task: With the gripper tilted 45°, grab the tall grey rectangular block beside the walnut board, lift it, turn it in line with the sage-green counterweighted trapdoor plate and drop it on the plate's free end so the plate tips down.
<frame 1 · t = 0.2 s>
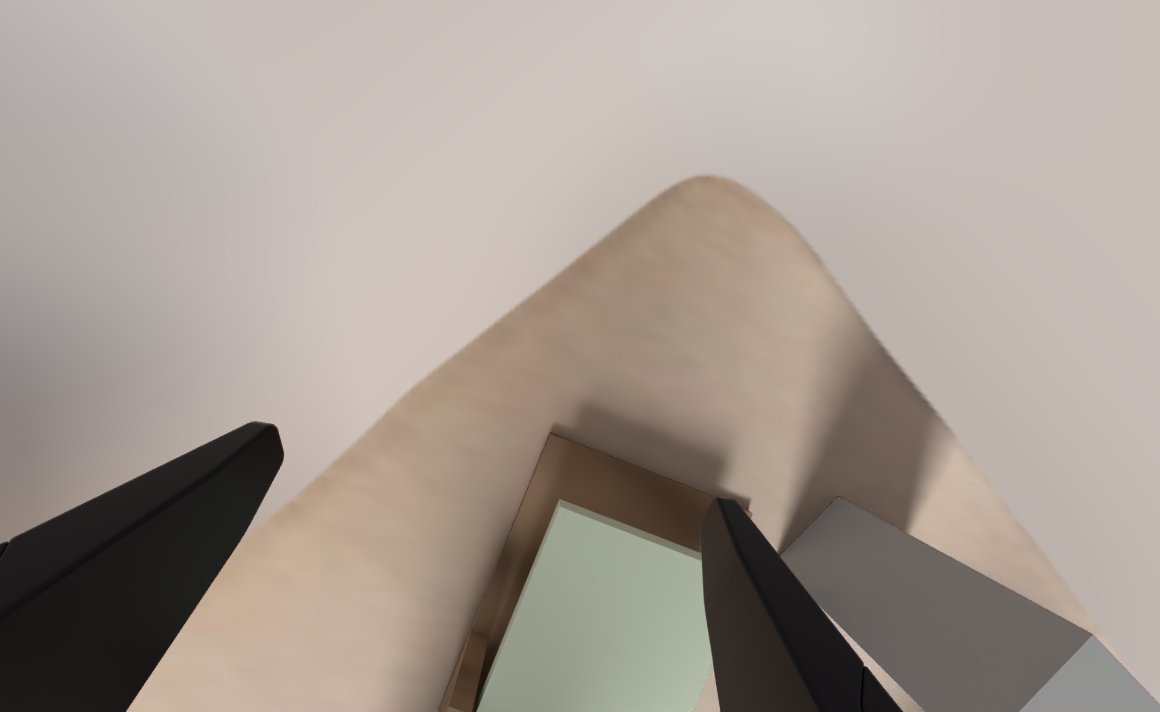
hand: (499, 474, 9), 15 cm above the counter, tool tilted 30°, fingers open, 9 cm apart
trapdoor: (586, 700, 21), point 4 cm above the counter, hinge at 0.0°
grey rectangular block: (837, 559, 25), on the counter
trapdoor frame: (560, 695, 25), on the counter
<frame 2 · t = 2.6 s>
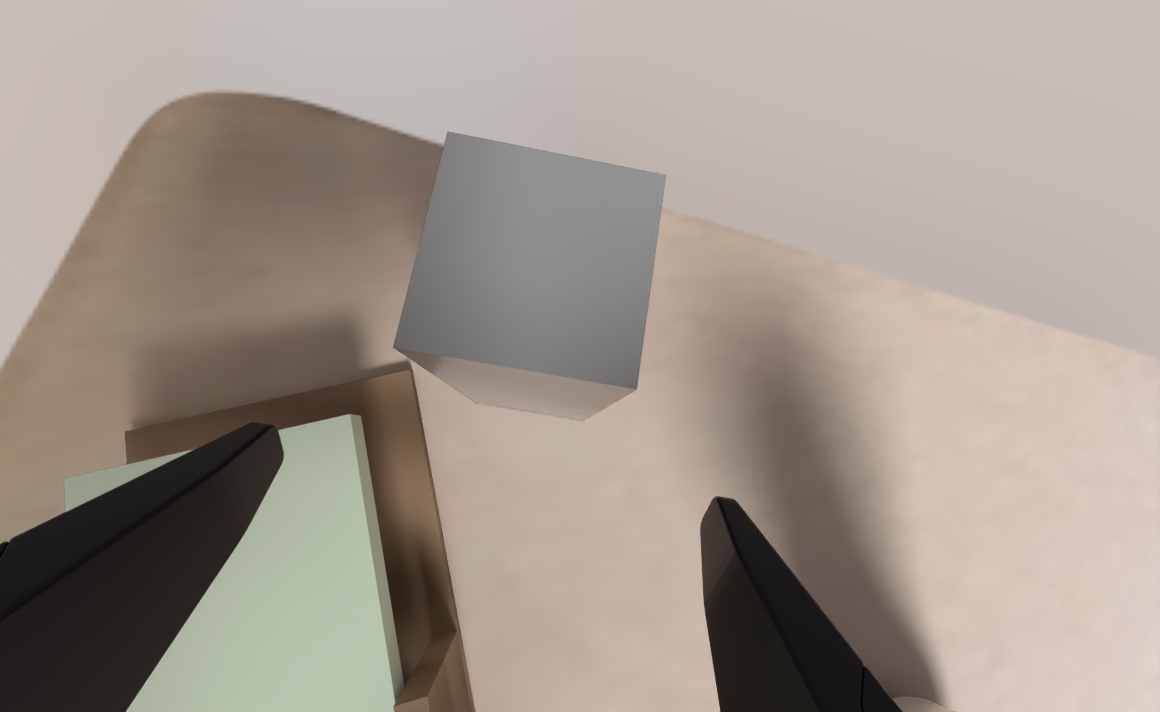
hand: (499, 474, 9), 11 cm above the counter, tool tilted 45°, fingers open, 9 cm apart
trapdoor: (248, 690, 15), point 4 cm above the counter, hinge at 0.0°
grey rectangular block: (539, 359, 22), on the counter
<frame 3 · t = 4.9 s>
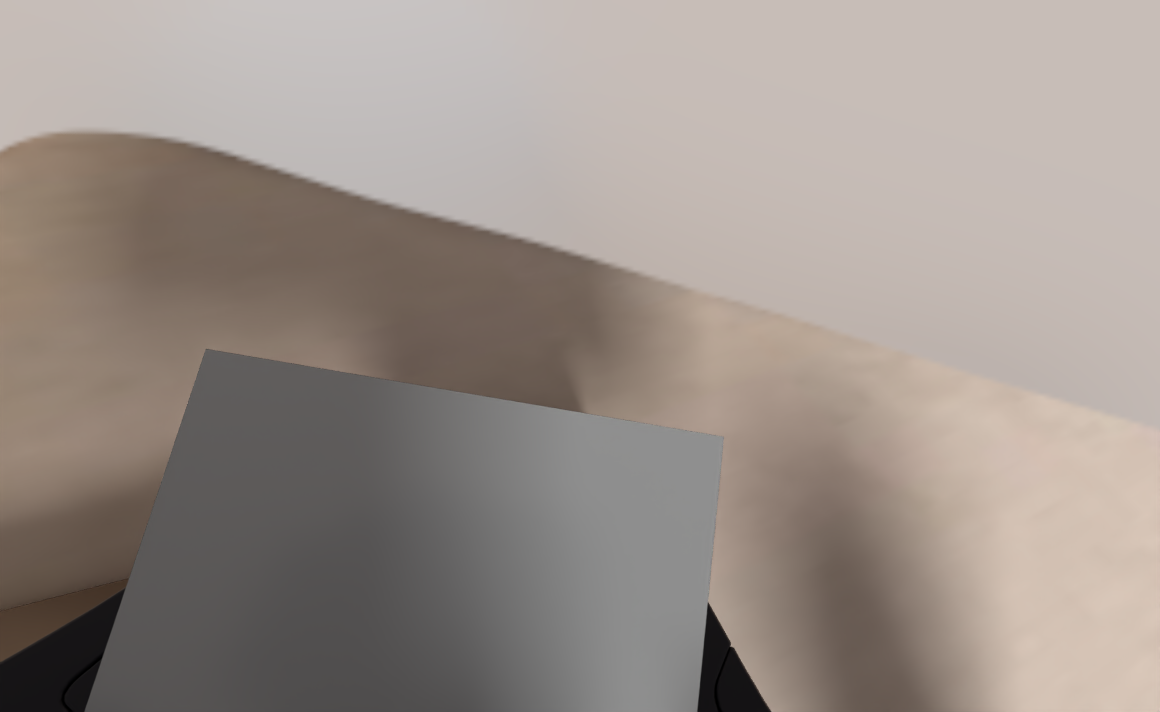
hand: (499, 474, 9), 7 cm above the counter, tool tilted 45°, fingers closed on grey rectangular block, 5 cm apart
grey rectangular block: (508, 503, 16), on the counter, touching gripper
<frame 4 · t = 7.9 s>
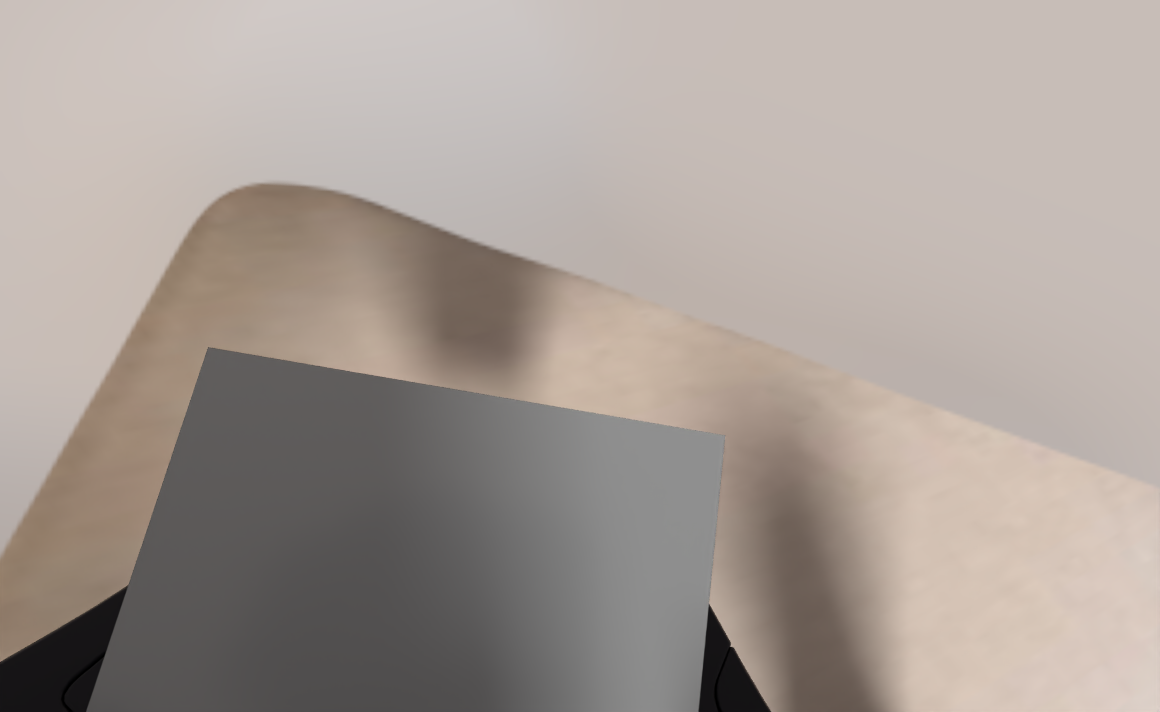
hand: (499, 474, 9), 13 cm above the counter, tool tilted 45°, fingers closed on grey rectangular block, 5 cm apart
grey rectangular block: (508, 503, 16), point 7 cm above the counter, touching gripper
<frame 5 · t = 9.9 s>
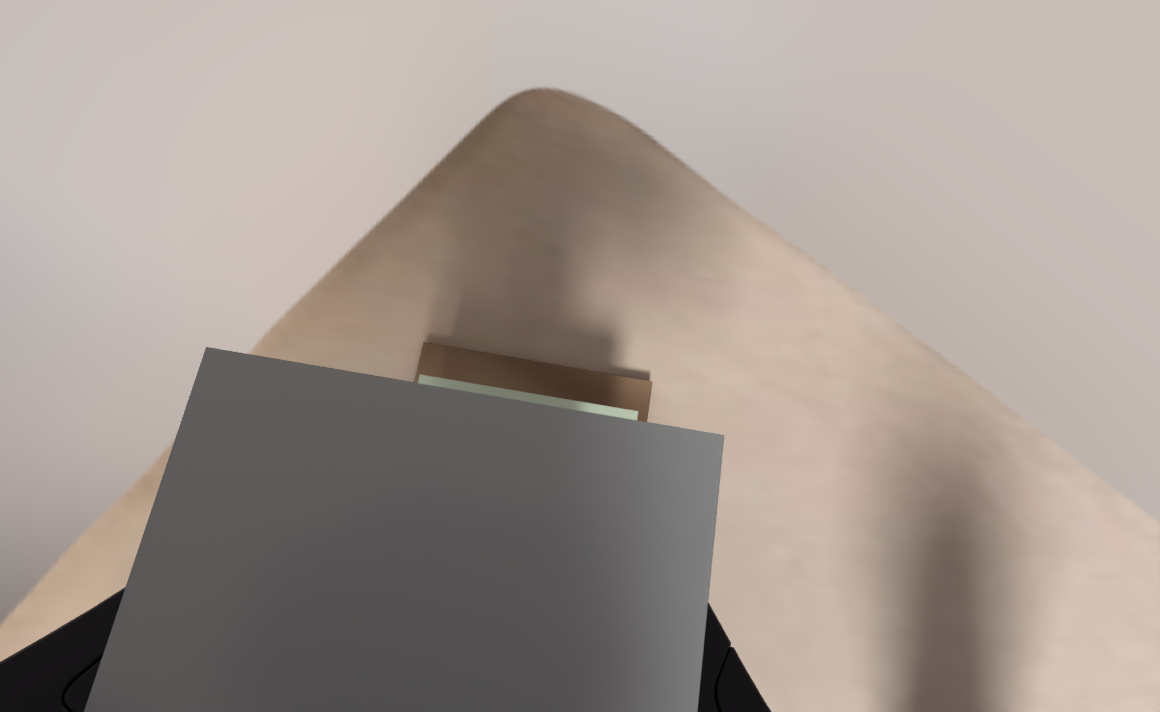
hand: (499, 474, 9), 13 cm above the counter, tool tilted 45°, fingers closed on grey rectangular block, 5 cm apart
trapdoor: (493, 596, 18), point 4 cm above the counter, hinge at 0.0°
grey rectangular block: (508, 503, 16), point 7 cm above the counter, touching gripper
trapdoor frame: (489, 639, 21), on the counter
when the fingers open (13 cm above the counter, at t = 10.9 s): grey rectangular block drops 4 cm, resting on trapdoor.
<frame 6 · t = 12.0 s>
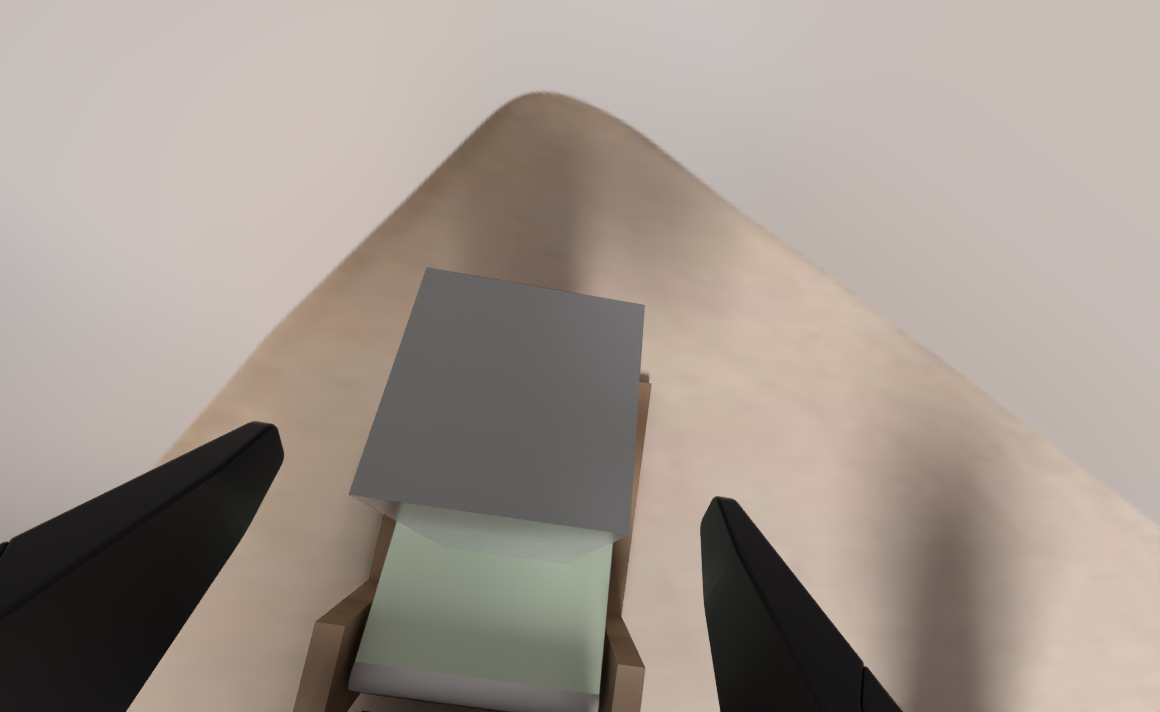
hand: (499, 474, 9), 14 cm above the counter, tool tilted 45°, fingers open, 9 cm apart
trapdoor: (495, 593, 19), point 3 cm above the counter, hinge at -15.9°, touching grey rectangular block, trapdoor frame
grey rectangular block: (516, 493, 20), point 3 cm above the counter, tilted 16°, touching trapdoor
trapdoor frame: (489, 641, 21), on the counter
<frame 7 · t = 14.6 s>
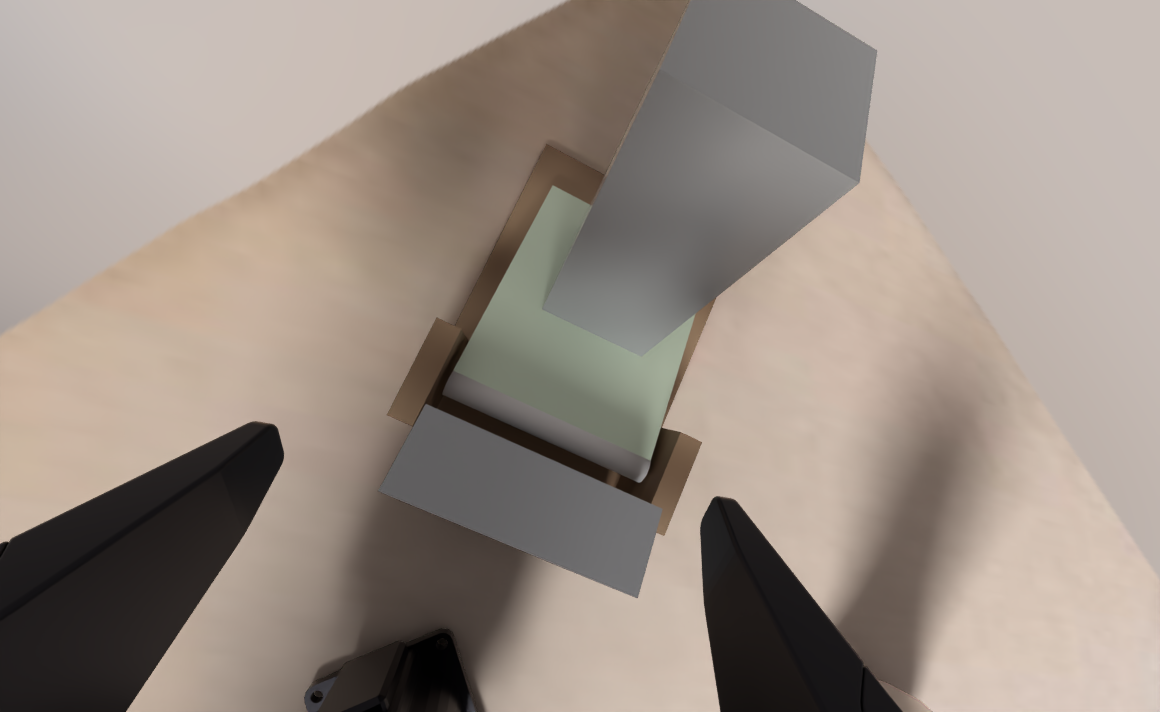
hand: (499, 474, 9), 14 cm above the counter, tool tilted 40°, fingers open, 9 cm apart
trapdoor: (575, 363, 20), point 3 cm above the counter, hinge at -15.9°, touching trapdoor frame
grey rectangular block: (609, 289, 22), point 3 cm above the counter, tilted 16°
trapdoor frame: (540, 420, 23), on the counter
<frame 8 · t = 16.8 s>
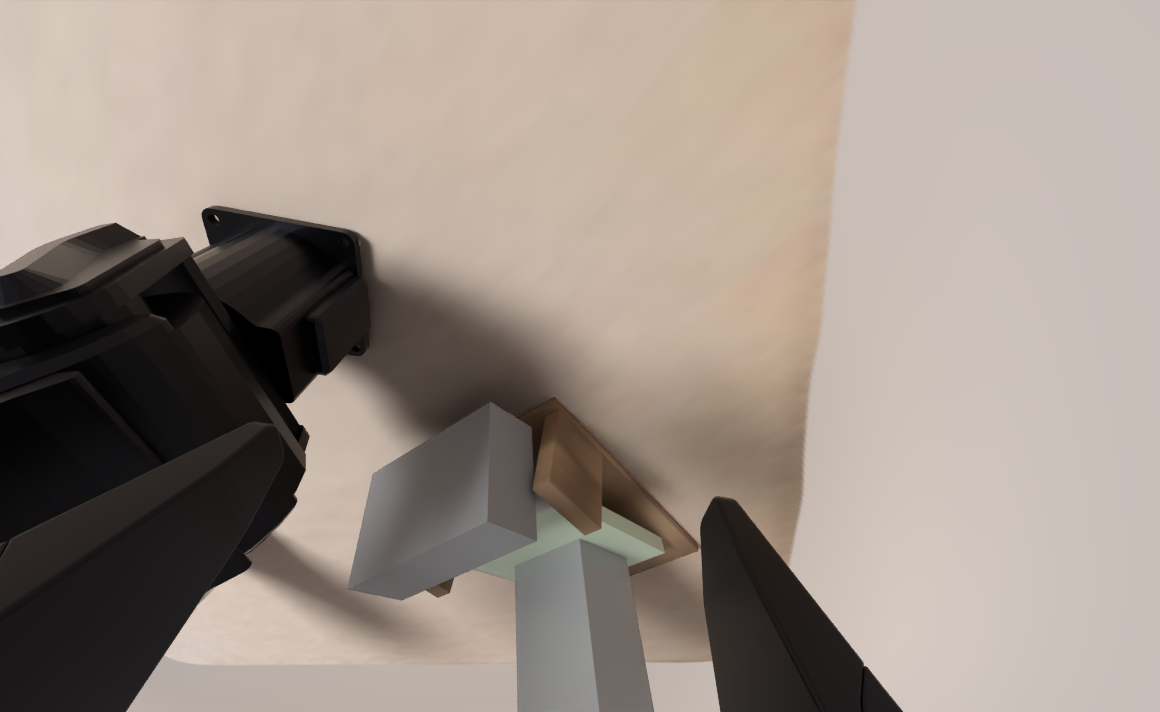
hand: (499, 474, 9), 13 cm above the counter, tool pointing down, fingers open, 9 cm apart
trapdoor: (530, 536, 27), point 3 cm above the counter, hinge at -15.9°, touching grey rectangular block, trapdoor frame
grey rectangular block: (571, 561, 29), point 3 cm above the counter, tilted 16°, touching trapdoor
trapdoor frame: (506, 466, 28), on the counter
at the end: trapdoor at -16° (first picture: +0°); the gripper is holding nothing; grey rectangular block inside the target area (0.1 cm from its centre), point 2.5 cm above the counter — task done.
